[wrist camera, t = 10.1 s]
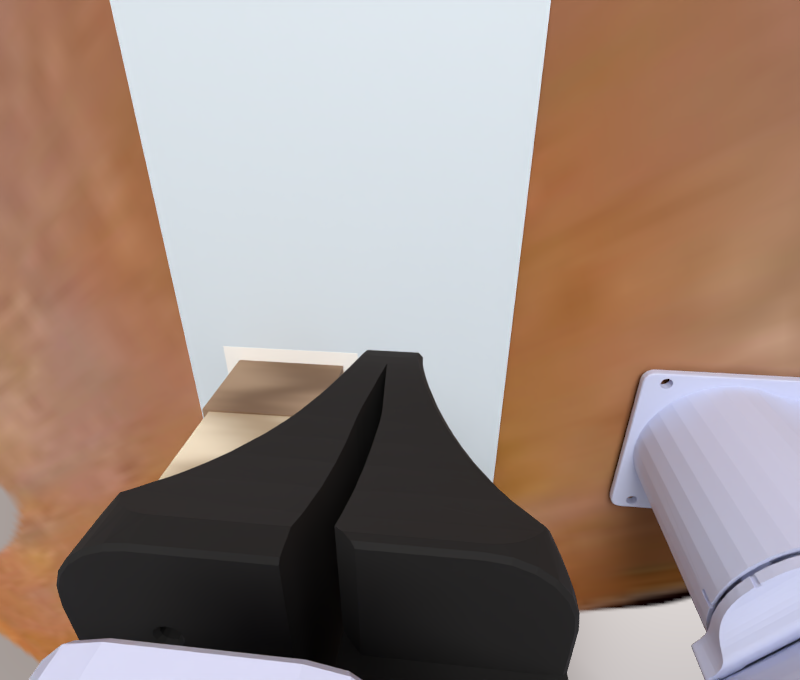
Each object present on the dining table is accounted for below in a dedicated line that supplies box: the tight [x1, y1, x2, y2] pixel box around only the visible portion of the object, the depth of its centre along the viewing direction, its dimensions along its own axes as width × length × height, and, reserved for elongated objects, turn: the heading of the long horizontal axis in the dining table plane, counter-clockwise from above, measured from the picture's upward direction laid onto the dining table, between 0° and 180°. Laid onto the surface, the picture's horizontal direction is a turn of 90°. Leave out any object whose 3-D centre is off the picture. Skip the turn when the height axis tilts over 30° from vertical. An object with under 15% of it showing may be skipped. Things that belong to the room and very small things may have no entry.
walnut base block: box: [202, 360, 344, 417], centre depth 23 cm, size 5×5×4 cm
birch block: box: [159, 412, 290, 480], centre depth 19 cm, size 4×4×5 cm
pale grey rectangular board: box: [110, 0, 551, 483], centre depth 22 cm, size 15×22×1 cm
